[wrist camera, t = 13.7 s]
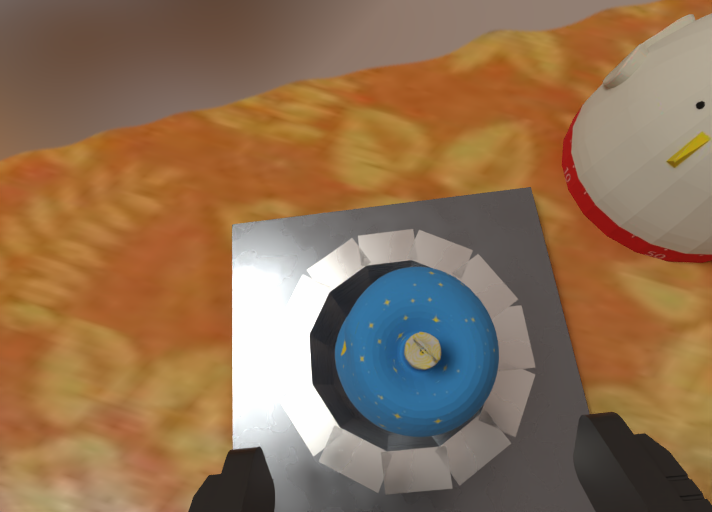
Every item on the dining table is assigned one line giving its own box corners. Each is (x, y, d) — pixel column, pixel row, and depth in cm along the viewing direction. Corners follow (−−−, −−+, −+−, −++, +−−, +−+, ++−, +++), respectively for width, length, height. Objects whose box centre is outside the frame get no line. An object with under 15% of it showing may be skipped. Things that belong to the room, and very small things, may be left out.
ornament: (401, 301, 25) (419, 198, 11) (464, 364, 24) (581, 342, 9) (340, 361, 24) (270, 337, 10) (402, 430, 23) (424, 515, 9)
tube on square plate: (243, 563, 23) (162, 659, 15) (240, 232, 29) (181, 173, 21) (607, 532, 22) (733, 617, 14) (523, 197, 28) (576, 121, 20)
